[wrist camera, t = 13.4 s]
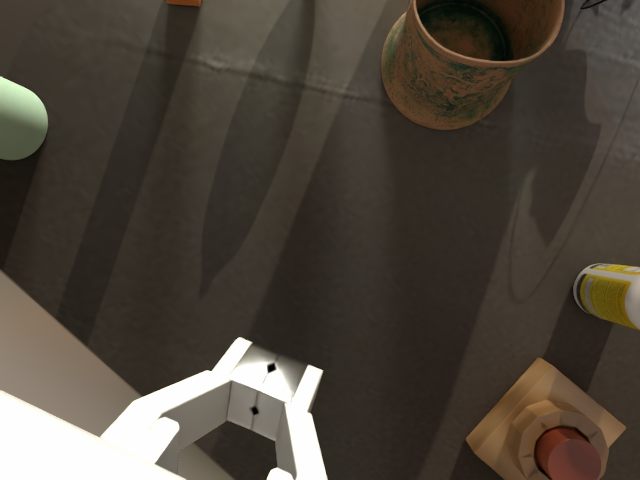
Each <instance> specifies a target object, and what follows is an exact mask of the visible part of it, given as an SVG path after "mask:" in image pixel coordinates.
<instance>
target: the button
mask: <svg viewBox="0 0 640 480" xmlns="http://www.w3.org/2000/svg"><path fill="white" fill-rule="evenodd" d="M535 455H536V459H537V461H538V463H539V465H540V466H541V467H542V469H543V470H544V471H545V472H546V473H547V474H548V475H549V477H550V478H551V479H552V480H597V479H598V477H599V475H600V472H601V458H600V455H599V453H598V452H597V450H596V449H595V447H593V446H592V445H591V444H590V443H589V442H588V441H586V440H585V439H584V438H583V437H582V436H580V435H579V434H578V433H577V432H575V431H574V430H572V429H569V428H566V427H555V428H551V429H549V430H547V431H546V432H544V433H543V434H542V435H541V436H540V437H539V439H538V441H537V443H536V447H535Z"/></svg>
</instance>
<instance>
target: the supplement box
mask: <svg viewBox="0 0 640 480" xmlns="http://www.w3.org/2000/svg"><path fill="white" fill-rule="evenodd" d="M165 1H166V2H167V3H168V4H177V5H189V6H201V0H165Z"/></svg>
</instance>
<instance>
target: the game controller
mask: <svg viewBox="0 0 640 480" xmlns="http://www.w3.org/2000/svg"><path fill="white" fill-rule="evenodd" d="M588 1H589V0H587V1H586V2H585V3H584V4H583V5H582V6H581V8H580V9H587V8H590V7H592V6H595V5H597V4H599V3H601V2H604V1H606V0H602V1H600V2H598V3H595V4H593V5H591V6H588V7H585V8H582V7H583V6H584V5H585V4H586V3H587V2H588Z"/></svg>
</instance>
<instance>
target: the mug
mask: <svg viewBox="0 0 640 480" xmlns="http://www.w3.org/2000/svg"><path fill="white" fill-rule="evenodd" d="M564 4H565V0H410V2H409V7H408V10H407V12H405V13H404V14H403V15H402V16H401V17H400V18H399V19H398V21H397V22H396V23H395V24H394V26H393V27H392V29H391V31H390V32H389V34H388V36H387V39H386V41H385V44H384V48H383V52H382V58H381V75H382V80H383V84H384V87H385V90H386V92H387V95H388V96H389V98H390V100H391V102H392V103H393V104H394V106H395V107H396V108H397V109H398V110H399V111H400V112H401V113H402V114H403V115H404V116H405V117H407V118H408V119H409V120H411V121H413V122H415V123H417V124H419V125H421V126H424V127H427V128H431V129H437V130H453V129H459V128H462V127H466V126H469V125H471V124H473V123H475V122H477V121H479V120H480V119H482V118H483V117H485V116H486V115H488V114H489V113H490V112H491V111H492V110H493V109H494V108H495V107H496V106H497V105H498V104H499V103H500V101H501V100H502V99H503V97H504V96H505V94H506V92H507V90H508V88H509V85H510V83H511V80H513V79H514V77H515V76H516V75H517V74H518V73H519V72H520V71H521V70H522V69H523V68H524V67H526V66H527V65H528V64H529V63H530V62H531V61H533V60H534V59H535V58H537V57H538V56H539V55H541V54H542V53H543V52H544V51H545V50H546V49H547V48H548V47H549V46H550V45H551V44H552V43H553V42H554V40H555V39H556V37H557V35H558V33H559V31H560V28H561V25H562V21H563V15H564Z"/></svg>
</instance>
